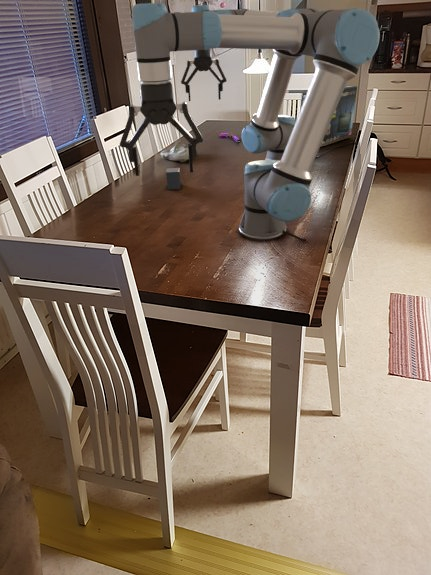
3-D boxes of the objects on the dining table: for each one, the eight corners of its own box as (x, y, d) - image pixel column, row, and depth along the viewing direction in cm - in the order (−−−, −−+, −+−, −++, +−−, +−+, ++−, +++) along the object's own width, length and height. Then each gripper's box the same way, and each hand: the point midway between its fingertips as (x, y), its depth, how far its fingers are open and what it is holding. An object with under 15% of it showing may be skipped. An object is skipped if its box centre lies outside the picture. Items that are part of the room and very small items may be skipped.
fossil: (184, 156, 217) (163, 136, 220) (174, 174, 223) (154, 154, 227) (205, 153, 231) (186, 134, 234) (195, 171, 237) (176, 152, 240)
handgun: (219, 136, 267) (219, 132, 266) (232, 135, 268) (232, 131, 267) (227, 144, 249) (227, 140, 248) (240, 143, 250) (240, 139, 249)
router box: (314, 151, 231) (318, 94, 217) (296, 148, 237) (299, 92, 224) (352, 138, 251) (358, 85, 238) (335, 135, 258) (340, 83, 245)
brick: (180, 184, 194) (179, 167, 190) (180, 188, 189) (179, 171, 186) (167, 185, 194) (166, 168, 190) (167, 189, 189) (166, 172, 186)
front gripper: (208, 77, 109) (212, 165, 120) (103, 82, 108) (116, 171, 119) (210, 81, 103) (214, 173, 114) (98, 87, 102) (113, 180, 113)
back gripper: (230, 45, 201) (231, 97, 211) (173, 48, 200) (177, 99, 211) (232, 46, 194) (232, 99, 205) (173, 49, 193) (177, 102, 204)
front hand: (164, 172), depth 117 cm, fingers open, 13 cm apart
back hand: (204, 100), depth 208 cm, fingers open, 13 cm apart
